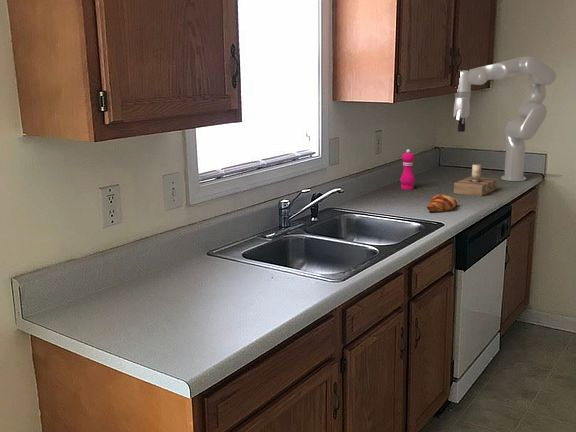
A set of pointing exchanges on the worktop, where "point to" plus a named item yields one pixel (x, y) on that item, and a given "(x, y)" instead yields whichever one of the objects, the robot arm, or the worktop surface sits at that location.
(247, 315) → the worktop surface
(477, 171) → the peg
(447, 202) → the croissant
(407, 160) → the pepper mill
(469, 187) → the board
